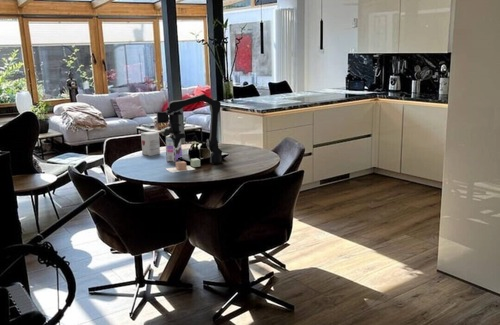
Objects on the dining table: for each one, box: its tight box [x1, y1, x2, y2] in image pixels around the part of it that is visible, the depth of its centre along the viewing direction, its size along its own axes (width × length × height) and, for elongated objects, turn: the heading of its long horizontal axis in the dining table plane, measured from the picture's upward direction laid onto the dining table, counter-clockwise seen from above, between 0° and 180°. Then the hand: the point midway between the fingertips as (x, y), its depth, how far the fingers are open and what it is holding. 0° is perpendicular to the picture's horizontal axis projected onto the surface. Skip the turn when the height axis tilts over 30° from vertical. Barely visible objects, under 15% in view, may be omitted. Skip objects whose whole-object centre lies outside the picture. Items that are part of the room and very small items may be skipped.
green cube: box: [190, 157, 201, 168], centre depth 286 cm, size 4×4×4 cm
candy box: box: [164, 134, 183, 163], centre depth 304 cm, size 14×6×16 cm, turn 169°
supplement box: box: [140, 130, 161, 157], centre depth 322 cm, size 9×9×15 cm
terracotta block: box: [175, 160, 188, 170], centre depth 279 cm, size 5×5×4 cm
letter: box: [165, 165, 195, 174], centre depth 280 cm, size 15×11×1 cm
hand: (175, 147), depth 284 cm, fingers closed
